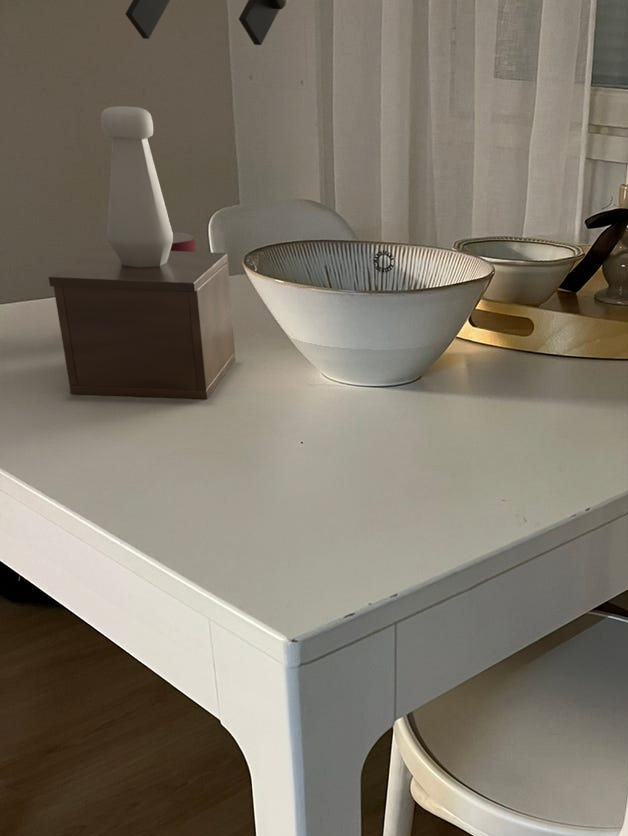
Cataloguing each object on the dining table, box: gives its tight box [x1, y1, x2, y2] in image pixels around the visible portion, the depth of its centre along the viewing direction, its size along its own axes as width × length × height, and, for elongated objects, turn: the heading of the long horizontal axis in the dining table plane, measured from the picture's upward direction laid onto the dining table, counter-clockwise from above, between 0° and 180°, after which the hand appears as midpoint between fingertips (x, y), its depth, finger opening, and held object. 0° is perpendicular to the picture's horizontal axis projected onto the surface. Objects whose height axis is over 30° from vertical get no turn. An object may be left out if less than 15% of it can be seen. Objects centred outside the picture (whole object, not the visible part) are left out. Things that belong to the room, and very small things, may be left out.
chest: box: [53, 261, 236, 400], centre depth 99 cm, size 14×13×10 cm
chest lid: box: [48, 247, 229, 292], centre depth 96 cm, size 14×13×1 cm
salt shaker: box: [100, 105, 173, 268], centre depth 93 cm, size 6×6×13 cm
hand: (191, 29), depth 93 cm, fingers open, 13 cm apart
